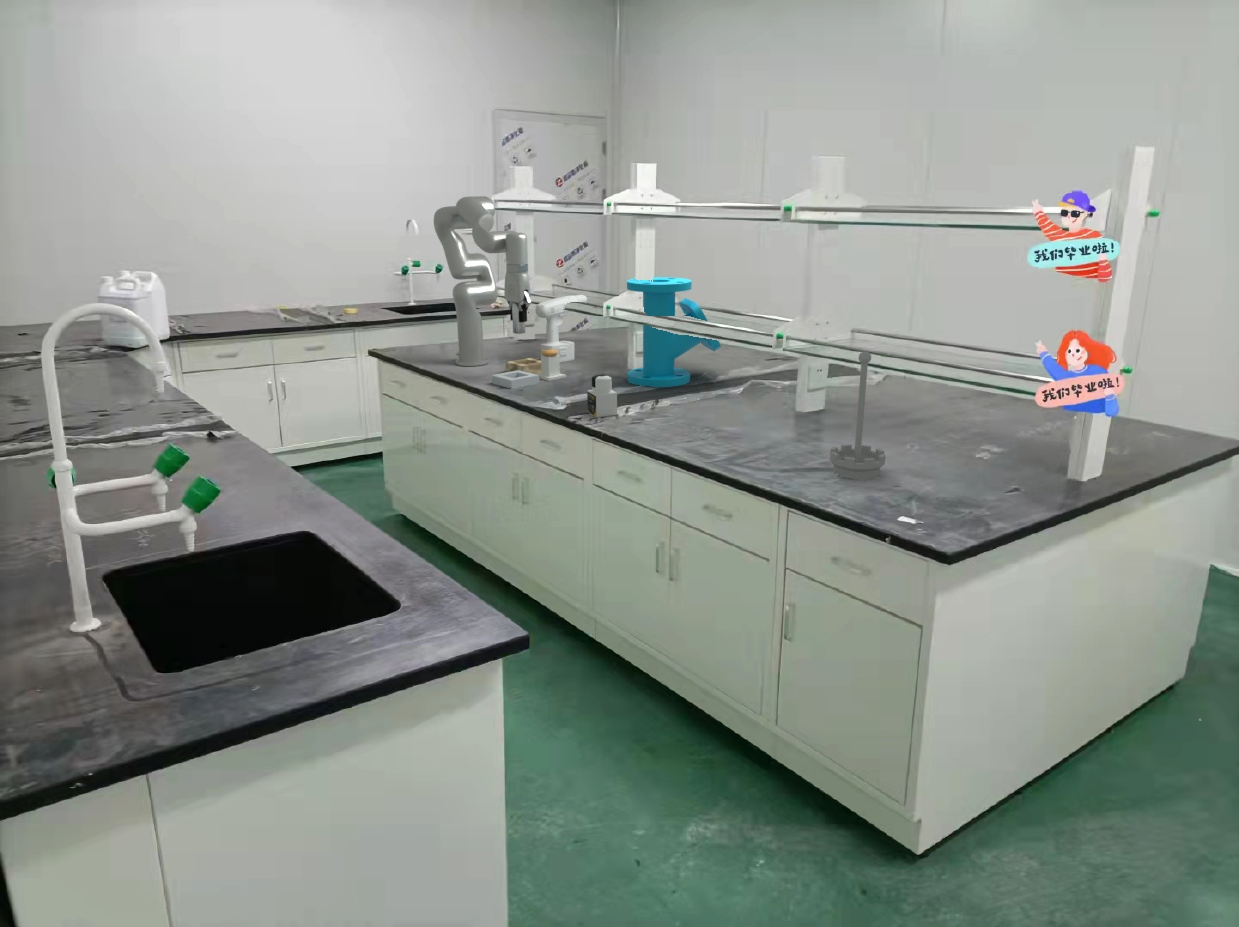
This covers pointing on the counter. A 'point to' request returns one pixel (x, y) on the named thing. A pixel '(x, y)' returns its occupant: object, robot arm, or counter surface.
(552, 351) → the release plunger
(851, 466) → the flag stand
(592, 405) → the medicine bottle
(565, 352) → the power drill
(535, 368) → the rack
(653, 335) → the pipe fitting
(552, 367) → the post
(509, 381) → the socket block
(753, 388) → the counter surface
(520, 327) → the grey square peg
